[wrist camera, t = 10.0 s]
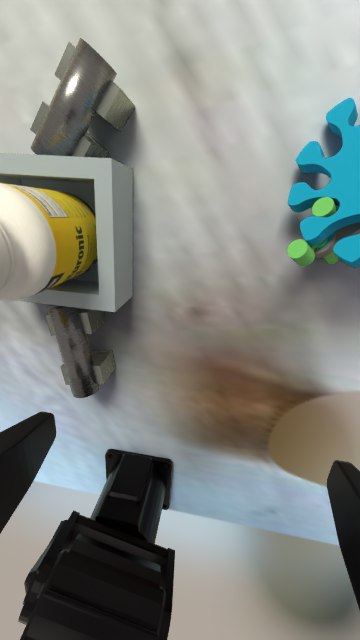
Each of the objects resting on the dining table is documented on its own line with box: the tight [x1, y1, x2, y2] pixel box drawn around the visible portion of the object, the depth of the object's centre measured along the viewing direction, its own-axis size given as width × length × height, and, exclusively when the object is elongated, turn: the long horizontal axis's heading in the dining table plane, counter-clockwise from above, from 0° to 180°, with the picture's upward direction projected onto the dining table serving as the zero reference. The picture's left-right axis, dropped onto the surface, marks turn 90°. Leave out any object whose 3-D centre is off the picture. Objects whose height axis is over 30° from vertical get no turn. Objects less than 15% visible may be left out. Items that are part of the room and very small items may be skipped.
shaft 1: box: [30, 38, 135, 158], centre depth 15 cm, size 6×3×4 cm, turn 141°
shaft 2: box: [46, 305, 116, 398], centre depth 21 cm, size 7×3×4 cm, turn 6°
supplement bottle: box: [0, 183, 98, 301], centre depth 15 cm, size 5×5×10 cm
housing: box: [0, 153, 133, 312], centre depth 18 cm, size 8×8×4 cm
